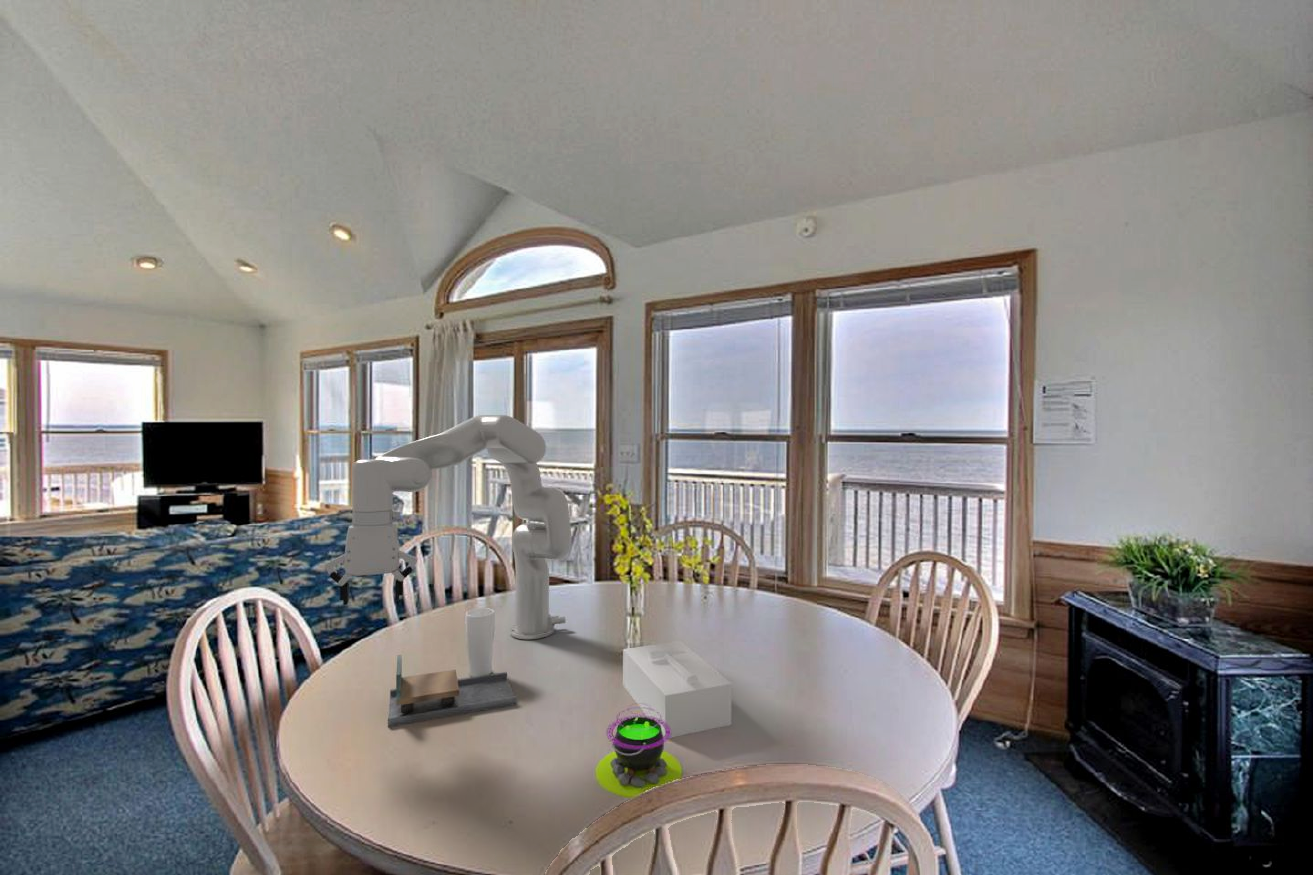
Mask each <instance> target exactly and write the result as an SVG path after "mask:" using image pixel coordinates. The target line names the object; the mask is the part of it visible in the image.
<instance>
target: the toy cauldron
mask: <svg viewBox="0 0 1313 875" xmlns="http://www.w3.org/2000/svg"><path fill="white" fill-rule="evenodd" d="M639 704H640V703H639ZM644 704H645V703H644ZM634 705H638V704H637V702H635V703H632V705H629V706H628V707H627V708H626V709H627V711H628V712H629V713H631V714H632V715H628V716H622V717H620V715H621V714H622V713H624V712H625V710H622V711H620V712H619V713H618V714H617V715H616V720H615V721H613V722H611V723H609V725H608V727H607V729H606V731H605V732H606V733H605V734H606V736H607V739H608V740H609V741H611V743H612V745H611V748H612V749H614V751H611V752H610V753H608V754H606V755H605V756H604V757H603V758H601V759H600V761H599V762H598V763H597V766H596V768H595V777H596V780H597V782H598V784H599V785H600V786H601V787H602V788H603V789H605V790H606V791H607V792H609V793H611V794H612V795H613V794H614V795H617V796H619V797H624V798H629V799H630V798H631V797H636V796H637V795H639V794H641V793H643V792H645V791H646V790H649V789H651V788H653V787H656V786H661V785H662V784H665V783H668V782H672V781H673V780H676V779H679V778H680V779H681V778H682V774H683V770H682V766H681V763H680V762H679V760H678V759H676V758H677V757H674V756H673V755H672V754H671V753H669V752H667V751H666V750H665V751H664V749H665V742H667V741H669V740H670V739H671V738H672V737H671V736H669V735H672V733H670V731H671V730H672V729H669V728H670V727H668V726H670V725H669V724H668V723H666V724H663V723H664V721H662V719H661V720H660V719H659V718H658V719H659V720H658V719H656V717H653V719H651V718H652V716H651V715H650V716H646V714H645V713H640V715H639V713H634V712H632V711H631V709H632V710H633V709H637V707H632V706H634ZM646 705H648V704H646ZM649 707H651V706H650V705H649ZM641 708H645V707H641ZM641 708H640V709H641ZM645 709H649V710H650V708H645ZM651 710H653V709H652V708H651ZM653 711H654V710H653ZM655 712H656V711H655ZM657 713H659V712H657ZM659 715H660V718H661V717H662V716H661V714H660V713H659ZM649 717H651V718H649ZM655 719H656V721H658V722H656V721H655ZM660 721H662V722H661V723H660ZM660 724H662V725H663V726H665V727H666V728H667V727H668V728H667V729H669V731H668V730H667V729H666V728H665V727H664V728H665V730H667V731H666V733H667V734H666V733H665V736H664V737H665V738H664V737H663V734H662V730H661V726H660ZM667 725H668V726H667ZM616 726H617V727H616ZM615 727H616V733H615V735H614V729H615ZM666 735H667V736H666ZM668 737H669V738H668ZM670 737H671V738H670ZM631 799H632V798H631Z"/></svg>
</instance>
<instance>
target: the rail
mask: <svg viewBox="0 0 1313 875" xmlns="http://www.w3.org/2000/svg"><path fill="white" fill-rule="evenodd" d="M457 681H458V686H459V696H454V698H455V703H454V705H453V706H451V707H444V706H443V701H442V700H443V698H441V699H435V700H428V701H422V702H416V703H413V705H414V708H413V711H412V712H411V713H409V714H402V712H401V705H398V706H396V688H391V689H389V690H390V691H389V692H390V694H389V703H388V704H389V705H388V717H387V728H389V727H390V728H391V727H395V726H399V725H401V724H402V725H406V724H413V723H417V722H424V721H425V722H426V721H430V720H436V719H441V718H446V717H452V716H459V715H463V714H464V715H465V714H470V713H475V712H481V711H487V710H493V709H499V708H506V707H509V706H515V705H517V696H516V695H514V692H513V690H512V687H511V684H510V682H509V680H508V673H507V671H503V672H502V671H501V672H497V673H490V674H489V675H483V676H476V677H471V676H469V677H464V678H463V677H462V678H459V679H458V678H457Z"/></svg>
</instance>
